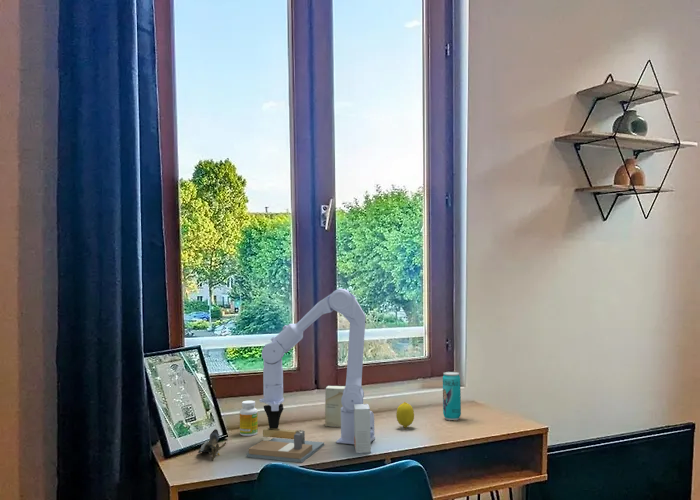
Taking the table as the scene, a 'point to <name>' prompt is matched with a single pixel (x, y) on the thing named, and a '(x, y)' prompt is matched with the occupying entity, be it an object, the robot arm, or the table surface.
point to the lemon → (405, 414)
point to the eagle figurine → (212, 445)
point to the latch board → (285, 449)
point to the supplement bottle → (248, 419)
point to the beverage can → (451, 396)
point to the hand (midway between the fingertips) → (273, 430)
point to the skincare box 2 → (362, 428)
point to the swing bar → (283, 433)
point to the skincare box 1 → (333, 405)
